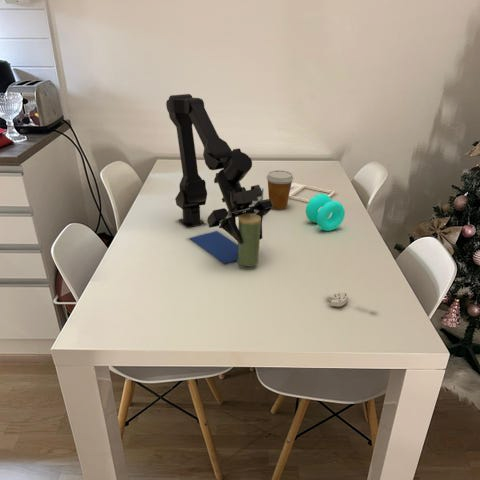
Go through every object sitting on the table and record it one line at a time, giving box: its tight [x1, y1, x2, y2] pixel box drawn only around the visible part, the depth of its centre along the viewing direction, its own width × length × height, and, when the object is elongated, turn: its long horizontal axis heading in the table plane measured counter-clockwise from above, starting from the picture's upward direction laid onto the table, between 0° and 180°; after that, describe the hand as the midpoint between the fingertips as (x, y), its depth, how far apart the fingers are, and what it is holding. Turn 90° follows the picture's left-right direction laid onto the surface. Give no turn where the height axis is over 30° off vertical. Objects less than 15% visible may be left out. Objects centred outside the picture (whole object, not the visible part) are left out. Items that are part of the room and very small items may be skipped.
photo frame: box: [288, 182, 336, 203], centre depth 189 cm, size 15×1×18 cm
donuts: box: [305, 193, 346, 232], centre depth 162 cm, size 10×10×10 cm
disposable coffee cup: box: [265, 169, 294, 211], centre depth 175 cm, size 10×10×12 cm
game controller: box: [328, 291, 373, 312], centre depth 124 cm, size 6×12×3 cm, turn 77°
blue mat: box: [189, 230, 238, 265], centre depth 150 cm, size 20×10×1 cm, turn 35°
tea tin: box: [237, 213, 261, 267], centre depth 136 cm, size 6×6×13 cm
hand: (251, 241), depth 135 cm, fingers closed on tea tin, 6 cm apart
